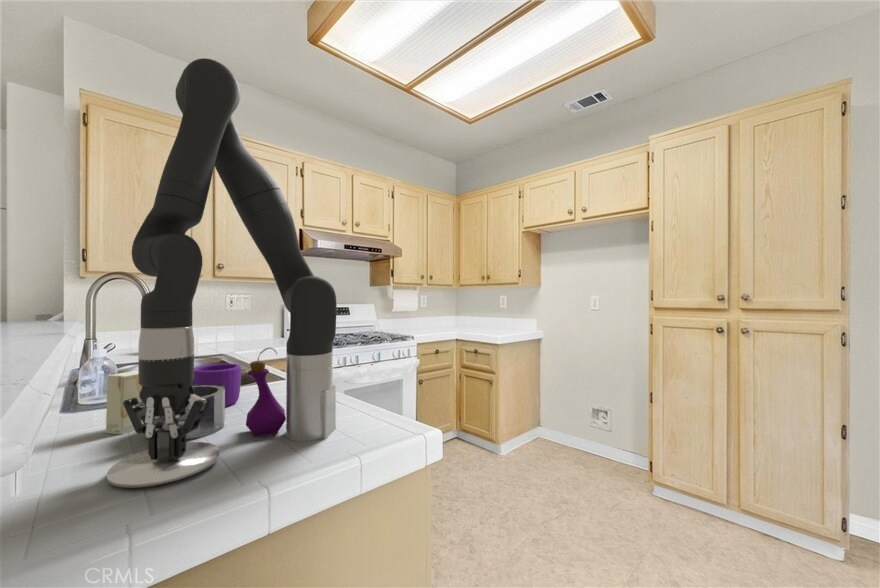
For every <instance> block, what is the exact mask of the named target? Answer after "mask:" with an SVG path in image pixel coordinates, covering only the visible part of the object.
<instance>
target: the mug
mask: <svg viewBox="0 0 880 588" xmlns="http://www.w3.org/2000/svg"><path fill="white" fill-rule="evenodd" d="M241 380H242V366H241V365H240V364H237V363H213V364H205V365H201V366H196V367H194V379H193V381H192V386H200V385H225V408H226V407H230V406H231V405H234V404H235V403H237V402H238V400H239V398H240V394H241V383H242V381H241Z"/></svg>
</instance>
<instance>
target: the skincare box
mask: <svg viewBox="0 0 880 588" xmlns="http://www.w3.org/2000/svg"><path fill="white" fill-rule="evenodd" d="M106 380H107V383H106V385H107V386H106V418H105V419H106V420H105V433H106V434H114V435H124V434H125V435H126V434H127V433H131V432H134V431H135V429H134V427H133V425H132V423H131V420H130V418H129V416H128V414H127V411H126V409H125V407H124V405H123V403H124V401H125V400H128V399H130V398H133V397H136V396H138V395H139V393H140V391H141V389H142V386H141V385H139V382H138V370H133V371H127V372H121V373H114V374H109V375H107V377H106ZM141 422H142V424H144V423H143V421H142V420H141Z"/></svg>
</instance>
